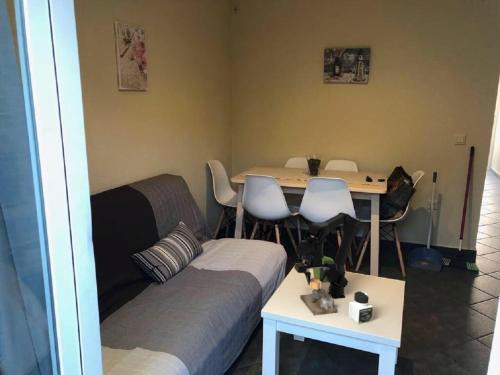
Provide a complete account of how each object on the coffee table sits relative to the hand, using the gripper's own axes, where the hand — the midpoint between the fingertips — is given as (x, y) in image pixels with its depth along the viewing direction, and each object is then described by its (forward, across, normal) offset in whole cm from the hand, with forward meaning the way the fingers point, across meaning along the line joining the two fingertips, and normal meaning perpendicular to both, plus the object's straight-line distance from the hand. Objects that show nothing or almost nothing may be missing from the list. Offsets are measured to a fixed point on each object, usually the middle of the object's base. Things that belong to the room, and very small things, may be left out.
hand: (314, 284), depth 187 cm
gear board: (+10, -2, +1) cm, 11 cm away
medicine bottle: (+11, -15, +16) cm, 24 cm away
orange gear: (+1, 0, 0) cm, 1 cm away
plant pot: (+11, -15, -26) cm, 32 cm away
